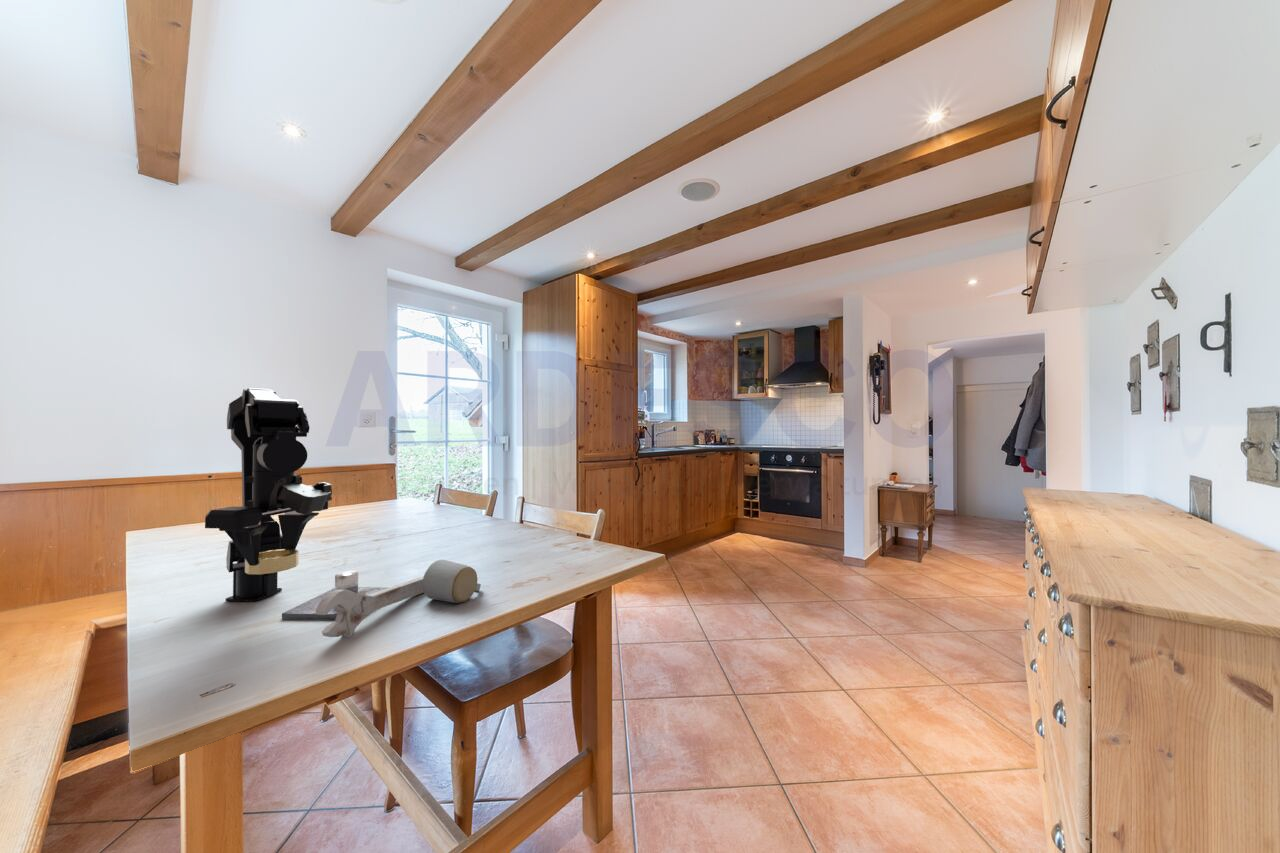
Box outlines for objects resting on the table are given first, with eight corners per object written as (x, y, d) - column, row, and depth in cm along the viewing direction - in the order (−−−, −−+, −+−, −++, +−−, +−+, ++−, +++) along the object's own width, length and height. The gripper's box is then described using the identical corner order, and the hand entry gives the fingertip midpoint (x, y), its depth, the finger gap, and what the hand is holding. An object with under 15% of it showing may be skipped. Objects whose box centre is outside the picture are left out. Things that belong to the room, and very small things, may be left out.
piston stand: (281, 619, 80) (282, 585, 80) (336, 591, 94) (336, 563, 94) (358, 619, 80) (358, 586, 80) (401, 592, 94) (402, 563, 94)
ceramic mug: (454, 609, 85) (454, 568, 85) (420, 604, 87) (421, 564, 88) (490, 592, 95) (491, 555, 95) (459, 587, 97) (460, 552, 98)
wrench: (434, 601, 97) (321, 650, 68) (426, 600, 97) (310, 649, 68) (437, 562, 98) (327, 595, 69) (429, 562, 98) (316, 594, 69)
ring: (234, 573, 75) (234, 559, 75) (271, 561, 82) (271, 548, 82) (274, 574, 74) (274, 560, 74) (307, 562, 81) (307, 549, 81)
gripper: (270, 475, 68) (269, 577, 68) (355, 466, 87) (354, 546, 87) (202, 474, 69) (200, 575, 69) (300, 466, 88) (299, 545, 87)
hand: (272, 559), depth 78 cm, fingers closed on ring, 7 cm apart
